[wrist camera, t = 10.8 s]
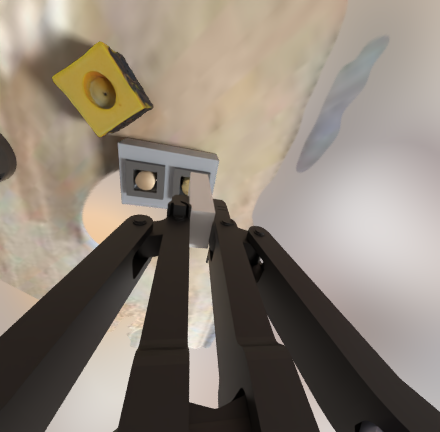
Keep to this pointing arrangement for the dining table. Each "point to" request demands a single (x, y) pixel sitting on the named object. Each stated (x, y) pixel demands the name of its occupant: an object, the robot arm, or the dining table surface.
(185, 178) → the brass peg
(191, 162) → the socket block
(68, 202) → the dining table surface
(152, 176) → the beech peg
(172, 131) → the dining table surface
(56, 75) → the candle
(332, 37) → the dining table surface
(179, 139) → the dining table surface
